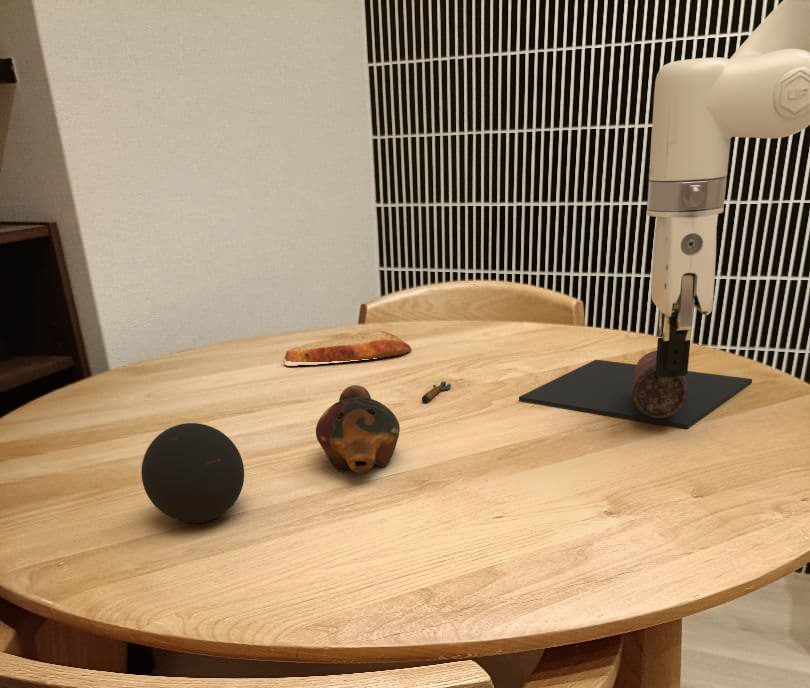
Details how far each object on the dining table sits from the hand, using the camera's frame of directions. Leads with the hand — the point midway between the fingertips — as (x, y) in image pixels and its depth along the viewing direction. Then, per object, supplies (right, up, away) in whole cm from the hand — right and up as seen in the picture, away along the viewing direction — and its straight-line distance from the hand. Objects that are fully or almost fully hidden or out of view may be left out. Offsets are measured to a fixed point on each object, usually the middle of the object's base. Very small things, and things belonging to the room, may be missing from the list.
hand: (671, 374), depth 92 cm
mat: (+2, +2, +21) cm, 22 cm away
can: (0, -2, +4) cm, 4 cm away
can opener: (-25, +2, +26) cm, 37 cm away
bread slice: (-40, +13, +49) cm, 64 cm away
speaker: (-51, -17, -7) cm, 54 cm away
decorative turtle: (-35, -10, +4) cm, 37 cm away
